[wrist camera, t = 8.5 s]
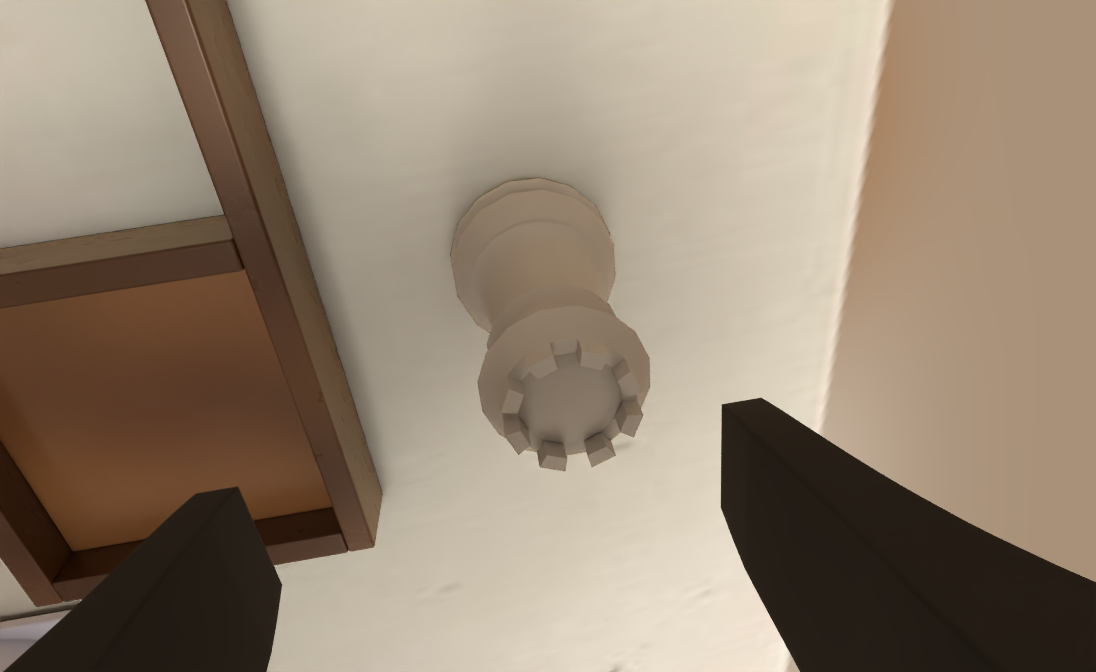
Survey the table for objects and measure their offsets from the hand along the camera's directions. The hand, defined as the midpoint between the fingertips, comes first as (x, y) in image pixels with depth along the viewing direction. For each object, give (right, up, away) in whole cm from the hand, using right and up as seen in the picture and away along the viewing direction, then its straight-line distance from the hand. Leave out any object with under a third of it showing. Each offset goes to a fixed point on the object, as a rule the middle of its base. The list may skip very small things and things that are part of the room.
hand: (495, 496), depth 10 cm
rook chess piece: (0, +5, +9) cm, 10 cm away
